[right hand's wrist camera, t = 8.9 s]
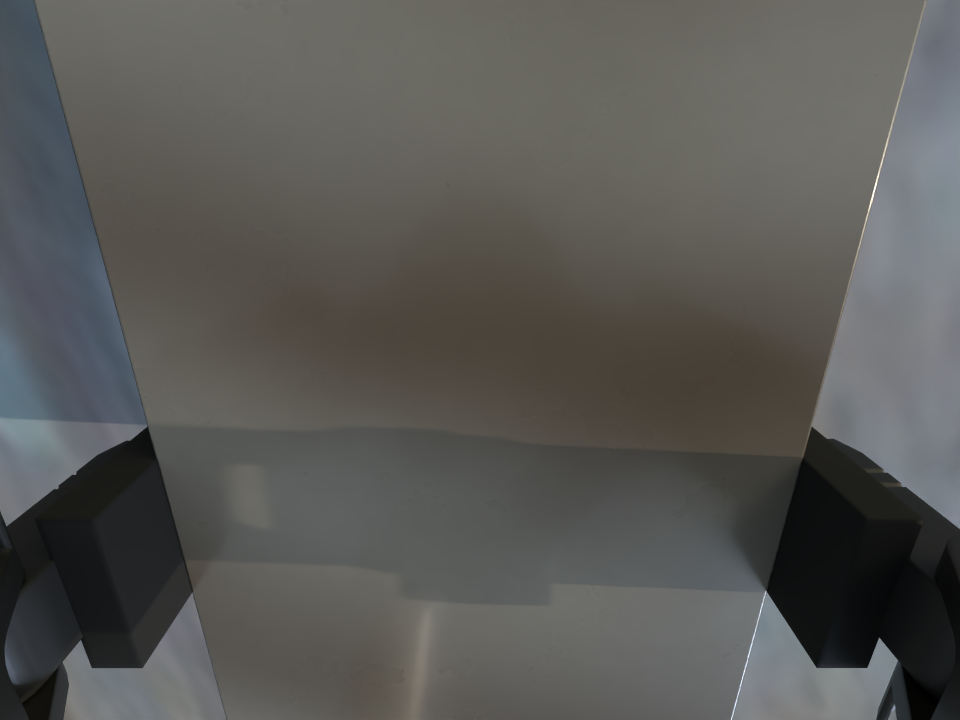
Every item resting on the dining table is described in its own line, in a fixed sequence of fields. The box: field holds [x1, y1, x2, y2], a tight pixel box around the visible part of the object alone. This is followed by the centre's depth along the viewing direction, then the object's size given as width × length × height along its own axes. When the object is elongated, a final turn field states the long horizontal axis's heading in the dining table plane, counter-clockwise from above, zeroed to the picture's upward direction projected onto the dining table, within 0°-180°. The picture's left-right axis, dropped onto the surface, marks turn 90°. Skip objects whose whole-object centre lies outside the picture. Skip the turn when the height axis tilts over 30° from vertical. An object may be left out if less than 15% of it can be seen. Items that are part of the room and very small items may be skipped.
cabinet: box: [33, 0, 927, 720], centre depth 12 cm, size 18×10×11 cm, turn 0°
